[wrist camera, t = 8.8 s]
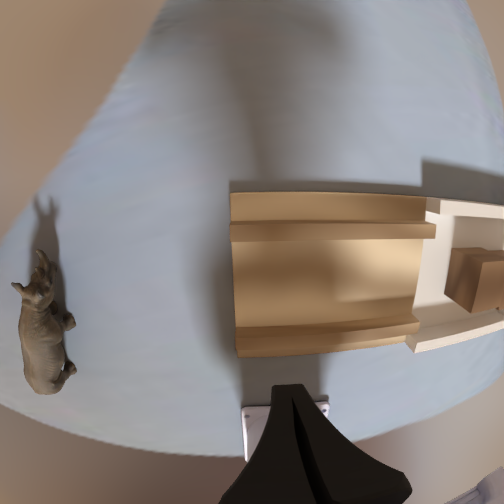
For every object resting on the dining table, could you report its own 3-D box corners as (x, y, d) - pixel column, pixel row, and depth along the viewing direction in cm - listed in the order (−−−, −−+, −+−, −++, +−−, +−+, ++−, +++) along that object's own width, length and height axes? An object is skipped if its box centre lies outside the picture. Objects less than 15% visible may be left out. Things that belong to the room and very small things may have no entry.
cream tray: (497, 316, 21) (509, 326, 19) (401, 338, 21) (414, 353, 19) (517, 207, 18) (533, 211, 16) (422, 196, 18) (440, 200, 16)
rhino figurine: (82, 247, 19) (35, 272, 13) (82, 377, 22) (56, 416, 16) (45, 234, 18) (-4, 253, 13) (50, 361, 22) (21, 395, 16)
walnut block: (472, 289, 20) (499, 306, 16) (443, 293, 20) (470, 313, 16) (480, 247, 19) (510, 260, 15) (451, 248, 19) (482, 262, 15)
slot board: (401, 338, 21) (412, 351, 19) (237, 353, 21) (237, 369, 19) (422, 196, 18) (438, 199, 16) (230, 192, 18) (228, 194, 16)
